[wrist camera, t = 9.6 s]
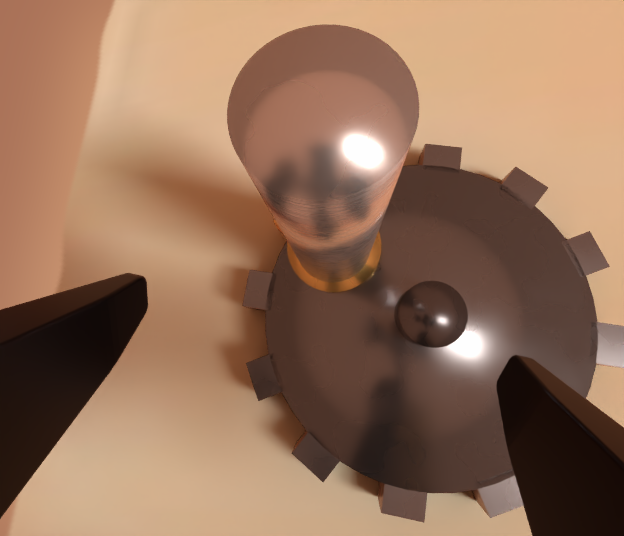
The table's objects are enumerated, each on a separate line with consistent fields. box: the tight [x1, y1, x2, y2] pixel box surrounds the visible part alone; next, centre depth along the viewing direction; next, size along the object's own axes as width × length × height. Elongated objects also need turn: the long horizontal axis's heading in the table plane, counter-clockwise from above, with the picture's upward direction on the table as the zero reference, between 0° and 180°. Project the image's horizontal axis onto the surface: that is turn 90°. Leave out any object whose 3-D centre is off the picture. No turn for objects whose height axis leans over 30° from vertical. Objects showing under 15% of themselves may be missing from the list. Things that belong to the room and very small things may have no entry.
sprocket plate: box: [243, 144, 624, 522], centre depth 17 cm, size 17×17×3 cm
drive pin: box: [227, 25, 419, 283], centre depth 12 cm, size 4×4×11 cm
